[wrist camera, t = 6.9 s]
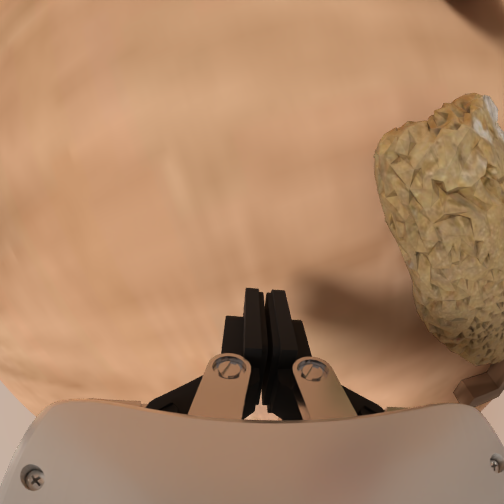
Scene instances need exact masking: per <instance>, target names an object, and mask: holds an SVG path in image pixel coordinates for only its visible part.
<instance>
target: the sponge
mask: <svg viewBox="0 0 504 504" xmlns="http://www.w3.org/2000/svg"><path fill="white" fill-rule="evenodd" d="M497 118H498V109H497V107H496V105H495V104H494V102H493V101H492V99H491V98H490V96H487V95H484V96H482V95H479V94H477V93H470V94H465V95H463V96H461V97H459V98H457V99H455V100H454V101H453V102H452V103H444V104H443V106H442V108H440V109H438V110H435V111H434V115H431V116H430V117H429V119H428V121H419V122H412V121H408V122H406V123H405V124H404V125H403V126H402V127H400V128H398V129H397V128H394V129H392V130H391V131H389V132H387V133H386V134H384V135H383V137H382V139H381V140H380V142H379V144H378V146H377V149H376V151H375V154H374V157H375V164H374V175H375V179H376V184H377V190H378V194H379V198H380V202H381V204H382V208H383V211H384V214H385V222H386V223H387V225H388V226H389V229H390V231H391V233H392V234H393V236H394V238H395V239H396V241H397V243H398V246H399V248H400V250H401V253H402V255H403V258H404V260H405V263H406V265H407V268H408V270H409V273H410V275H411V278H412V281H413V297H414V301H415V305H416V309H417V312H418V314H419V316H420V318H421V320H422V321H424V323H425V325H426V327H427V329H428V331H429V332H431V333H433V335H434V336H435V337H436V338H437V339H438V340H439V341H440V342H442V343H444V344H446V346H447V348H448V349H449V350H450V351H451V352H454V353H456V354H459V355H460V356H461V357H463V358H464V359H465V360H466V361H468V362H470V363H472V364H473V365H475V366H479V365H484V364H490V363H492V364H495V363H496V362H498V363H499V362H500V361H502V360H504V132H503V131H502V129H501V128H500V126H499V125H498V123H497Z"/></svg>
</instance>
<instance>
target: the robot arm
mask: <svg viewBox="0 0 504 504" xmlns="http://www.w3.org/2000/svg"><path fill="white" fill-rule="evenodd" d="M261 389H262V405H267V410H268V413H274V414H275V415H276V416H278V417H279V418H278V421H272V420H244V419H245V418H246V417H247V416H249V415H250V414H252V413H253V412H254V411H255V406H256V405H258V404H259V400H260V394H261ZM0 504H504V447H503V445H502V443H501V441H500V440H499V438H498V436H497V434H496V433H495V431H494V430H493V428H492V427H491V425H490V424H489V422H488V421H487V419H486V418H485V417H484V416H483V415H482V413H481V412H480V411H479V410H477V409H476V408H474V407H473V406H470V405H466V404H460V403H438V404H430V405H425V406H418V407H413V408H398V407H387V408H386V409H385V410H383V409H382V407H380V406H379V405H377V404H375V403H374V402H372V401H370V400H368V399H366V398H364V397H362V396H360V395H358V394H357V393H355V392H353V391H351V390H349V389H347V388H346V387H344V386H342V385H341V384H340V382H339V380H338V378H337V376H336V374H335V373H334V371H333V369H332V367H331V366H330V365H329V364H328V363H327V362H326V361H324V360H322V359H320V358H316V357H312V356H311V352H310V348H309V345H308V341H307V337H306V334H305V330H304V326H303V323H302V321H301V320H291V315H290V311H289V307H288V302H287V298H286V294H285V291H284V290H272V291H271V293H267V294H266V301H265V306H264V295H263V292H259V289H255V288H246V291H245V302H244V313H243V317H237V316H226V319H225V327H224V335H223V343H222V351H221V354H219V355H216V356H214V357H213V358H212V359H211V360H210V361H209V363H208V365H207V367H206V370H205V372H204V375H203V376H201V377H199V378H197V379H195V380H193V381H191V382H189V383H187V384H185V385H183V386H181V387H179V388H177V389H175V390H173V391H171V392H168V393H166V394H164V395H162V396H160V397H158V398H156V399H154V400H152V401H151V402H149V404H141V401H124V400H106V399H93V398H91V399H69V400H62V401H57V402H55V403H52V404H50V405H49V406H47V407H46V408H44V409H43V410H42V411H41V412H40V413H39V414H38V416H37V417H36V418H35V420H34V421H33V422H32V424H31V425H30V427H29V428H28V430H27V431H26V433H25V434H24V436H23V438H22V440H21V442H20V444H19V445H18V447H17V449H16V451H15V453H14V455H13V457H12V459H11V462H10V464H9V466H8V469H7V471H6V473H5V476H4V479H3V481H2V484H1V486H0Z"/></svg>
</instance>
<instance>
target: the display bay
mask: <svg viewBox="0 0 504 504" xmlns="http://www.w3.org/2000/svg"><path fill="white" fill-rule="evenodd" d="M503 390H504V360H502V361H500V362H499V363H498V362H496V363H495V364H492V365H491V367H490V368H489V370H488V372H487V373H484V374H481V375H477V376H474V377H471V378H468V379H464V380H462V381H461V382H460V384H459V385H458V387H457V388H456V390H455V391H454V392H453V393H454V395H455V396H456V398H457V400H458V401H459V403H460V404H466V405H470V406H473V407H476V406H478V405H481V404H483V403H485V402H488V401H490V400H492V399H494V398H497V397H498V396H499V395H500V394H501V392H502V391H503Z"/></svg>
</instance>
